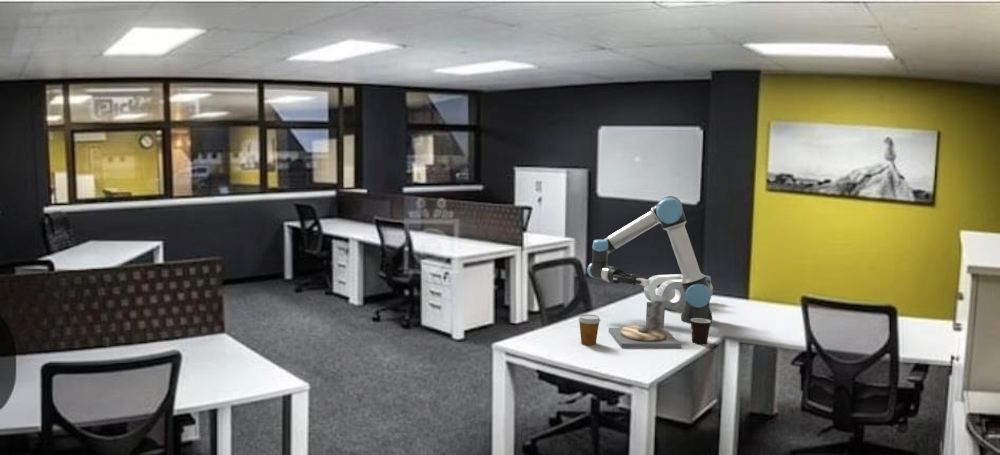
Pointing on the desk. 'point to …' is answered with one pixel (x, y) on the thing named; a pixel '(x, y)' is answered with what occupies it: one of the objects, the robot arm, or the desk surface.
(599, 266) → the robot arm
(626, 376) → the desk surface
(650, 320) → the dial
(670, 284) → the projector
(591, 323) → the disposable coffee cup
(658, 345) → the base
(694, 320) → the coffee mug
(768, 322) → the desk surface
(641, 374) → the desk surface
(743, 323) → the desk surface
